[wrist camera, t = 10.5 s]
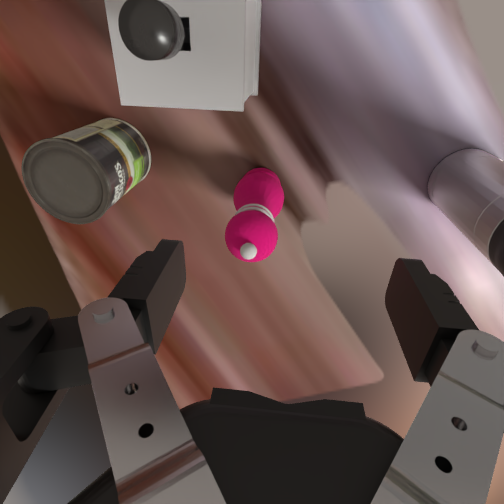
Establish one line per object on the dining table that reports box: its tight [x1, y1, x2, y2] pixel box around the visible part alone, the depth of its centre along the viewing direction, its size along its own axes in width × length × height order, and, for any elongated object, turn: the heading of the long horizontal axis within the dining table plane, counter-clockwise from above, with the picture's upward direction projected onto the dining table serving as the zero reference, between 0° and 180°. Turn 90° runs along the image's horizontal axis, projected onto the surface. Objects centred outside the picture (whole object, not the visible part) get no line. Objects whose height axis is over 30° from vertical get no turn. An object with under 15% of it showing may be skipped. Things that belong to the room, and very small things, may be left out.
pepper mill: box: [225, 168, 284, 262], centre depth 42 cm, size 7×7×20 cm
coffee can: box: [22, 118, 151, 224], centre depth 44 cm, size 10×10×14 cm
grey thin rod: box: [118, 0, 191, 61], centre depth 31 cm, size 9×9×22 cm
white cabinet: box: [104, 0, 262, 111], centre depth 33 cm, size 12×16×16 cm
